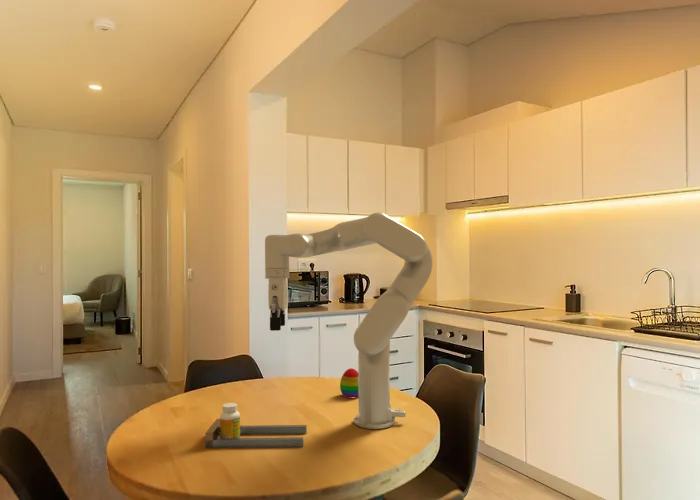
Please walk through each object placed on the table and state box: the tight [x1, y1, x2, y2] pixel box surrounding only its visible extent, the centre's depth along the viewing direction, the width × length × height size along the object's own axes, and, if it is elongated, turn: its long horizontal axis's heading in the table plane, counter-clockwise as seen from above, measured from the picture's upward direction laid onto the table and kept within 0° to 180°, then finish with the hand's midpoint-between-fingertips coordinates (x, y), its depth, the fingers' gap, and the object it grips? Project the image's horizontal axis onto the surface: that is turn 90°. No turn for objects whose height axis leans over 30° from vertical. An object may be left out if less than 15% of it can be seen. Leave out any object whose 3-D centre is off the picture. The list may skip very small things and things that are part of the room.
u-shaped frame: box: [205, 418, 308, 449], centre depth 135 cm, size 26×11×4 cm, turn 90°
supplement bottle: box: [219, 402, 241, 438], centre depth 135 cm, size 5×5×10 cm
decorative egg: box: [339, 368, 359, 398], centre depth 176 cm, size 8×8×10 cm
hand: (277, 327), depth 154 cm, fingers open, 9 cm apart
